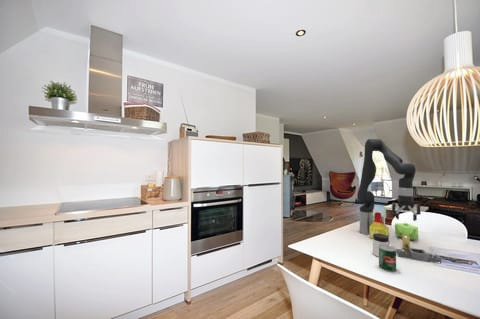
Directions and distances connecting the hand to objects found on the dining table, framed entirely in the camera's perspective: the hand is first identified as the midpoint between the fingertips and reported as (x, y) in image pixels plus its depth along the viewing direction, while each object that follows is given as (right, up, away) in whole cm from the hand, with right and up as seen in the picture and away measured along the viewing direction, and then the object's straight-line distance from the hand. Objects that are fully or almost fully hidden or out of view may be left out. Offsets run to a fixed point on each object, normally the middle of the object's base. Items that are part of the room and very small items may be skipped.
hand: (406, 220), depth 137 cm
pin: (0, -20, 0) cm, 20 cm away
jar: (-19, -21, -5) cm, 28 cm away
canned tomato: (-26, -21, -20) cm, 39 cm away
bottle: (-4, -20, +20) cm, 29 cm away
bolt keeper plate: (0, -20, -9) cm, 22 cm away
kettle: (+17, -20, +22) cm, 34 cm away
